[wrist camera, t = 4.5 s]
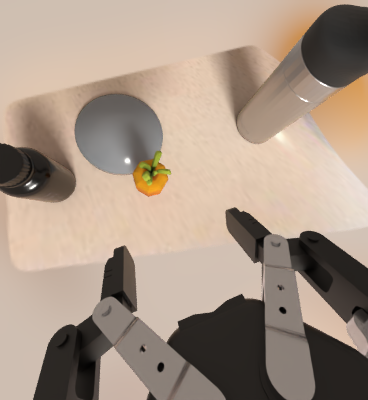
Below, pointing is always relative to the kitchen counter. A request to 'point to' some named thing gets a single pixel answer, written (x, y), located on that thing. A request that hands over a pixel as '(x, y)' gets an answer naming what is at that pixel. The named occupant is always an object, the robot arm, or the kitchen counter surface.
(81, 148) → the slate plate
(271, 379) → the robot arm
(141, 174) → the carrot
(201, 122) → the kitchen counter surface
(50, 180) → the supplement bottle
